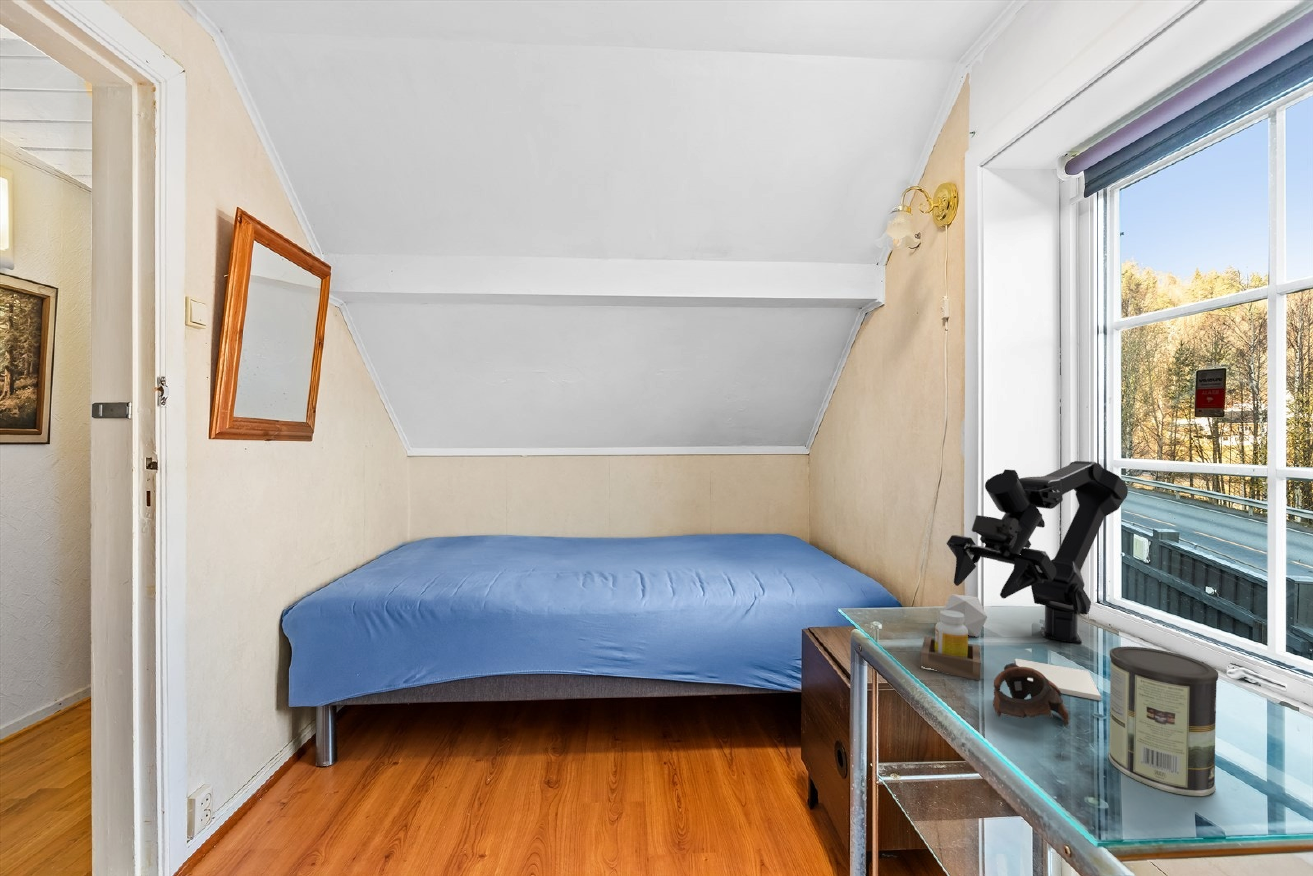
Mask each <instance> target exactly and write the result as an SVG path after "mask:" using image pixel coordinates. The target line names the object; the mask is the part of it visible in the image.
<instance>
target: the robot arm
mask: <svg viewBox="0 0 1313 876" xmlns="http://www.w3.org/2000/svg"><path fill="white" fill-rule="evenodd" d="M984 489H985V490H986V493H988V495H989V497H990V498H991V500H992V502H993V503H994V505H995V507H996V509H997V510H999V511H1000V512H1002V513H1004V514H1003V516H1002V517H1001V518H997V517H992V516H988V515H987V516H985V515H979V514H978V515H975V518H974V522H973V524H972V528H971V531H972V532H973V533H976V534H978V535H979V536H981V537H979V540H980V541H981V543H982V544H984V546H981V545H976V543H975V542H974V540H973V538H972V537H968V536H965V535H958V534H952V535H951V536H950V537H949V539H948V540H947V541H946V545H947V546H948V548H949V549H950V550H951V552H952V554H953V555H954V556H955V562H956V564H955V570H954V577H953V583H954V584H953V585H955V587H958V586H960V585H961V584H963V582H964V581H965V580H966V579H967V577H969V576H970V574H971V573H972V572H973V571H974V570H975V569H976V568H977V565H976V563H979V561H980V560H981V558H985V559H990V560H995V561H997V562H1002V563H1004V564H1005V563H1006V564H1009V565H1010V564H1011V565H1013V570H1012V571H1011V573H1010V574H1009V576H1008V578H1007V580H1006V581H1005V583H1004V584H1003V586H1002V589H1001V590H1000V593H999V596H1000V597H1001V599H1003V600H1004V599H1006V598H1008V597H1011V596H1012V595H1014V594H1016V593H1018V592H1020V591H1022V590H1023V589H1026V588H1029V587H1030V588H1031V593H1032V597H1033V603H1034V604H1035V605H1041V606H1044V626H1040V632H1041V635H1042V636H1043V638H1044V639H1049V640H1054V641H1055V640H1056V641H1063V642H1068V643H1075V644H1082V643H1083V640H1082V638H1081V637H1080V635H1079V633H1078V628H1079V627H1078V626H1079V621H1078V620H1079V615H1088V614H1089V612H1090V609H1091V605H1092V601H1091V599H1090V598H1089V596H1088V595H1087V593H1086V591H1085V589H1084V587H1085V582H1084V579H1083V575H1082V573H1081V571H1082V568H1083V566H1084V564H1085V562H1086V559H1087V557H1088V554H1089V553H1090V550H1091V549H1092V546H1093V544H1094V542H1095V539H1096V537H1097V535H1098V532H1099V530H1100V529H1101V526H1102V523H1104V522H1103V521H1104V519H1105V517H1107V516H1109V515H1111V514H1113V513H1114V512H1116V511H1118V510H1119V509H1120V507H1121V505H1122V504H1123V502H1124V501H1125V500H1126V498H1127V497H1128V494H1129V492H1128V490H1129V488H1128V486H1127V483H1125V482H1124V480H1123V479H1122V478H1121V477H1120V475H1118V474H1116V473H1114V472H1111V471H1110V470H1108V469H1106V468H1104V467H1103V465H1101V464H1100V463H1099V462H1096V461H1085V460H1082V461H1081V460H1074V461H1071V462H1070V463H1069V464H1067V465H1066V466H1063V467H1062V468H1060V469H1057V470H1055V471H1053V472H1050V473H1048V474H1046V475H1043V476H1041V475H1040V476H1026V477H1025V476H1024V477H1019V474H1018V473H1017V470H1015V469H1004V470H1003V472H1002V473H997V474H995V475H994V476H991V477H990V478H988V479H987V480H986V481H985V484H984ZM1071 491H1075V497H1076V499H1077V502H1078V507H1077V509H1076V511H1075V514H1074V515H1073V519H1072V520H1071V523H1070V524H1069V527H1068V529H1067V531H1066V534H1065V535H1064V538H1063V540H1062V541H1061V544H1060V546H1059V548H1058V550H1057V553H1056V554H1055V557H1054V558H1053V559H1051V558H1050V556H1049V555H1048V553H1047V552H1046V551H1045V550H1040V549H1033V548H1031V546H1032V543H1031V541H1030V538H1031V536H1033V533H1034V531H1035V530H1036V528H1045V526H1046V524H1045V519H1043V514H1042V513H1041V512H1040V511H1041V510H1040V509H1047V510H1052V509H1055V508H1056V507H1057V506H1058V505H1060V504H1061V503H1062V502H1063V500H1064V498H1063V496H1064V495H1065V494H1067V493H1069V492H1071Z"/></svg>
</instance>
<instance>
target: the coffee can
mask: <svg viewBox="0 0 1313 876" xmlns="http://www.w3.org/2000/svg"><path fill="white" fill-rule="evenodd" d="M1109 659H1110V678H1109V679H1110V680H1109V681H1110V687H1109V689H1110V690H1109V691H1110V692H1109V694H1110V695H1109V696H1110V697H1109V741H1108V742H1109V744H1108V745H1109V747H1108V748H1109V749H1108V751H1109V752H1108V761H1109V762H1110V763H1111V764H1112V766H1113V767H1115V768H1116V769H1117V770H1118V771H1120V772H1121V773H1122V774H1124V775H1126V776H1128V777H1130V778H1131V779H1133V780H1135V781H1136V782H1140V783H1141V784H1144V785H1147V786H1149V787H1152V788H1155V789H1157V790H1160V791H1164V792H1167V793H1172V794H1178V795H1183V796H1189V797H1190V796H1191V797H1205V796H1209V795H1212V794H1213V793H1215V791H1216V782H1215V780H1216V777H1215V775H1216V721H1217V719H1216V718H1217V717H1216V716H1217V684H1218V682H1217V681H1218V679H1219V672H1218V671H1217V669H1215V668H1214V667H1213V666H1211V665H1210V664H1207V663H1205V662H1203V661H1200V660H1198V659H1195V658H1192V657H1189V656H1186V655H1184V654H1180V653H1175V652H1171V651H1165V650H1161V649H1156V648H1151V647H1150V648H1148V647H1143V646H1142V647H1140V646H1116V647H1113V648H1111V649H1110V650H1109Z"/></svg>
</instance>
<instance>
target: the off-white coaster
mask: <svg viewBox="0 0 1313 876" xmlns="http://www.w3.org/2000/svg"><path fill="white" fill-rule="evenodd" d="M1014 664H1016V665H1018V666H1019V667H1028V668H1032V669H1034V670H1037V671H1039V672H1040V673H1042V674H1043V675H1044V676H1045V677H1046V678H1047V679H1048V680H1050V681H1051V682H1052V683H1054V684H1055V685H1056V686H1057V687H1058V689H1059V690H1060V691H1061V694H1064V695H1068V696H1075V697H1079V698H1085V699H1089V700H1095V701H1099V702H1100V701H1102V695H1101V693H1100V691H1099V690H1098V687H1097V685H1096V683H1095V682H1094V680H1093V677H1092V676H1091V673H1090V671H1088V670H1083V669H1078V668H1072V667H1066V666H1061V665H1055V664H1050V663H1049V664H1048V663H1043V662H1037V661H1031V660H1025V659H1020V658H1014ZM1027 680H1030V681H1033V678H1028V679H1027Z"/></svg>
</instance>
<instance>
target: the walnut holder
mask: <svg viewBox="0 0 1313 876" xmlns="http://www.w3.org/2000/svg"><path fill="white" fill-rule="evenodd" d="M981 658H982V657H981V645H978V644H971V643H968V654H967V658H963V657H958V656H952V655H946V654H941V653H935V637H931V636H926V635H925V636H923V642H922V647H921V651H920V667H921V666H923V667H925V668H931V669H934V670H937V671H939V672H938V673H940V672H943V673H942V674H945V673H948V674H947V675H950V674H951V676H954V677H955V676H956V677H961V678H966V679H971V680H972V679H973V680H976V681H981V680H982V679H981V676H982V659H981Z"/></svg>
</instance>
